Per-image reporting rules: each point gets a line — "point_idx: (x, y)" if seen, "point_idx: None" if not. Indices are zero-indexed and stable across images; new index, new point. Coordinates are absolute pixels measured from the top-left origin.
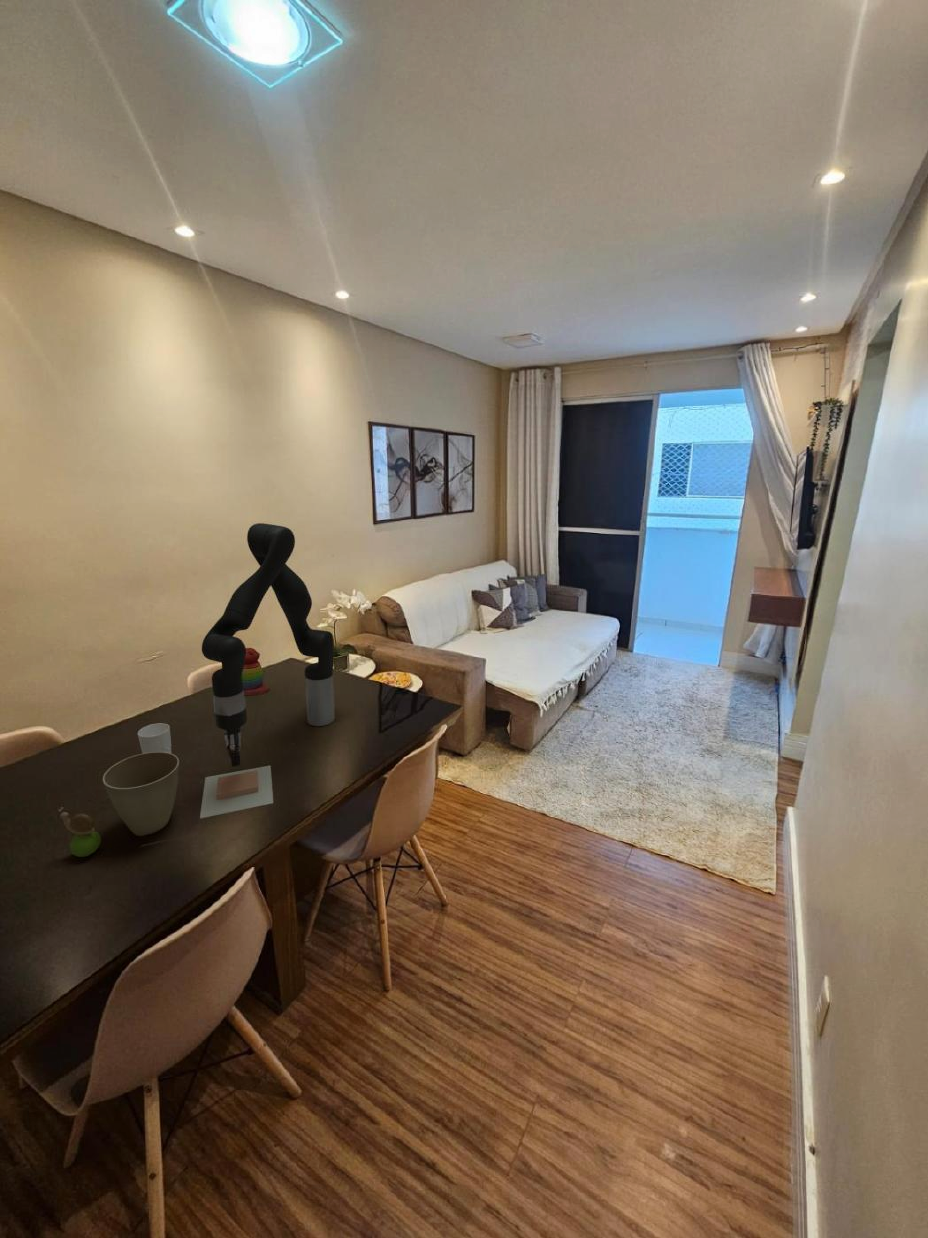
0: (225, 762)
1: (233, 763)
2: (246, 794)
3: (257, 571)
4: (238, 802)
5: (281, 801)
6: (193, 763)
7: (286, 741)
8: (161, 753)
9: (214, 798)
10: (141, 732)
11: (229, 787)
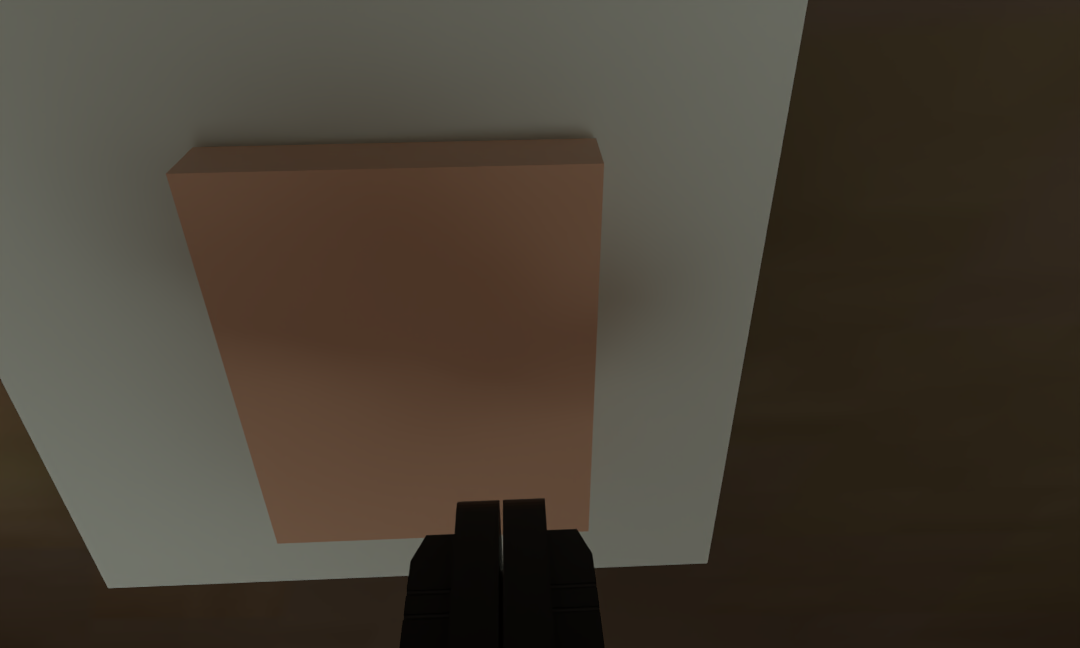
0: (1076, 167)
1: (409, 583)
2: None
3: None
4: (132, 358)
5: (164, 610)
6: None
7: (1056, 629)
8: None
9: (239, 111)
10: None
11: (321, 311)
